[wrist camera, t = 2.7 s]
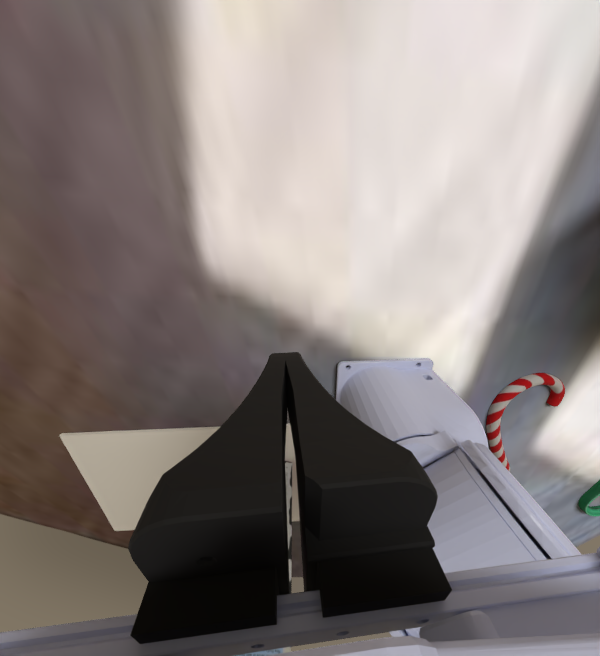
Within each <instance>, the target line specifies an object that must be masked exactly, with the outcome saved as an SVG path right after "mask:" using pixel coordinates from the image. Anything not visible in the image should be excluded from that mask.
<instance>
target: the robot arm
mask: <svg viewBox="0 0 600 656" xmlns="http://www.w3.org/2000/svg"><path fill="white" fill-rule="evenodd" d="M417 363H419V364H418V365H416V364H417ZM347 365H350V366H349V367H348V368H346V366H347ZM432 367H433V361H432V360H431V359H429V358H423V359H396V360H369V361H342V362H340V363H338V365H337V382H336V400H335V399H334V398H333V397H332V396H331V395H330V394H329V393H328V392H327V391H326V389H325V388H324V387H323V386H322V385H321V384H320V383H319V381H318V380H317V379H316V378H315V376H314V375H313V374H312V372H311V371H310V370H309V368H308V367H307V365H306V364H305V362H304V361H303V359H302V357H301V355H300V354H299V353H298V352H293V353H274V354H271V355H270V356H269V359H268V362H267V364H266V366H265V368H264V370H263V372H262V374H261V376H260V377H259V379H258V381H257V382H256V384H255V385H254V387H253V388H252V390H251V391H250V393H249V394H248V396H247V397H246V398H245V400H244V401H243V402H242V404H241V405H240V406H239V407H238V408H237V410H236V411H235V412H234V413H233V414H232V415H231V416H230V417H229V418H228V420H227V421H226V422H225V423H224V424H223V425H222V426H221V427H220V428H219V429H218V430H217V431H216V432H215V433H213V434H212V435H211V436H210V437H209V438H208V439H207V440H206V441H205V442H203V443H202V444H201V445H200V446H199V447H198V448H197V449H196V450H194V451H193V452H192V453H191V454H189V455H188V456H187V457H185V458H184V459H183V460H181V461H180V462H179V463H177V464H176V465H175V466H173V467H172V468H171V469H169V470H168V471H167V472H165V473H164V474H163V475H162V476H161V478H160V480H159V482H158V484H157V485H156V487H155V489H154V490H153V492H152V494H151V496H150V498H149V500H148V501H147V503H146V506H145V508H144V510H143V512H142V514H141V517H140V519H139V521H138V523H137V526H136V528H135V530H134V532H133V535H132V537H131V539H130V542H129V548H128V549H129V552H130V554H131V557H132V559H133V561H134V562H135V564H136V565H137V566H138V568H139V569H140V571H141V572H142V573H143V575H144V576H145V577H146V579H147V580H148V581H149V583H148V585H147V589H146V592H145V594H144V597H143V600H142V603H141V606H140V608H139V611H138V614H136V615H128V616H121V617H113V618H105V619H98V620H91V621H83V622H76V623H68V624H61V625H53V626H46V627H38V628H31V629H24V630H16V631H8V632H1V633H0V656H233V655H239V654H246V653H253V652H259V651H266V650H272V649H279V648H286V647H292V646H298V645H305V644H312V643H318V642H325V641H332V640H338V639H345V638H351V637H358V636H365V635H371V634H378V633H385V632H389V633H390V634H391V636H392V637H388V638H378V639H372V640H365V641H358V642H352V643H346V644H339V645H333V646H326V647H319V648H313V649H306V650H300V651H293V652H286V653H280V654H273V655H267V656H600V547H599V548H598V549H597V553H591V554H583V555H582V554H581V553H580V552H579V551H578V550H577V548H576V547H575V546H574V545H573V544H572V543H571V541H570V540H569V539H568V538H567V537H566V536H565V534H564V533H563V532H562V531H561V530H560V529H559V527H558V526H557V525H556V524H555V523H554V522H553V521H552V519H551V518H550V517H549V516H548V515H547V514H546V513H545V511H544V510H543V509H542V508H541V507H540V506H539V505H538V503H537V502H536V501H535V500H534V499H533V498H532V497H531V496H530V494H529V493H528V492H527V491H526V490H525V489H524V488H523V487H522V485H521V484H520V483H519V482H518V481H517V480H516V479H515V478H514V476H513V475H512V474H511V473H510V472H509V471H508V470H507V469H506V468H505V466H504V465H503V464H502V463H501V462H500V461H499V460H498V459H497V458H496V457H495V455H494V454H493V453H492V452H491V451H490V450H489V448H488V441H487V437H486V434H485V431H484V429H483V426H482V424H481V422H480V421H479V419H478V417H477V416H476V414H475V413H474V411H473V410H472V409H471V408H470V407H469V406H468V405H467V404H466V403H465V402H464V401H463V400H462V399H461V398H460V397H459V396H458V395H457V394H456V393H455V392H454V391H453V390H452V389H451V388H450V387H449V386H448V385H447V384H446V383H445V382H444V381H443V380H442V379H441V378H440V377H439V376H438V375H437V374H436V373H435V372H434V371H433V370H432ZM287 407H288V413H289V420H290V426H291V432H292V439H293V445H294V451H295V460H296V473H297V488H298V503H299V517H300V533H301V548H302V563H303V579H304V592H299V593H292V594H290V584H289V557H288V531H287V503H286V476H285V445H286V425H287Z"/></svg>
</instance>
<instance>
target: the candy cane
mask: <svg viewBox="0 0 600 656" xmlns="http://www.w3.org/2000/svg"><path fill="white" fill-rule="evenodd" d="M537 385H548V386H549V387H550V389H551V392H550V395H549V398H548V400H547V403H548V404H549V405H552V406H558V405H559V404H560V402H561V401H562V399H563V397H564V394H565V388H564V385H563V383H562V382H561V381H560V380H559V379H558V378H557V377H555V376H553V375H550V374H547V373H535V374H531V375H527V376H524V377H522V378H520V379H517V380H516V381H514V382H512V383H511V384H509V385H508V386H506V387H505V388H504V389H503V390H502V391H501V392H500V393H499V394H498V395H497V396H496V398H495V399H494V401H493V402H492V404H491V406H490V409H489V412H488V415H487V421H486V430H487V436H488V441H489V445H490V449H491V452H492V453H493V454H494V455H495V457H496V458H497V459H498V460H499V461H500V462H501V463H502V464H503V465H504V466H505V468H506V469H507V470H508V471H510V466H509V463H508V461H507V458H506V455H505V452H504V449H503V445H502V440H501V434H500V421H501V417H502V414H503V411H504V409H505V408H506V406H507V405H508V403H509V402H510V401H511V400H512V399H513V398H514V397H515V396H516V395H518V394H519V393H521V392H522V391H524V390H526V389H528V388H530V387H533V386H537Z"/></svg>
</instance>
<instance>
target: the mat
mask: <svg viewBox="0 0 600 656" xmlns="http://www.w3.org/2000/svg"><path fill="white" fill-rule="evenodd" d="M220 427H221V426H220ZM220 427H197V428H174V429H151V430H128V431H105V432H82V433H62V434H61V435H59V436H60V438H61V439H62V441H63V443H64V445H65V446H66V448H67V450H68V451H69V453H70V455H71V457H72V458H73V460H74V462H75V463H76V465H77V467H78V469H79V470H80V472H81V474H82V475H83V477H84V479H85V481H86V482H87V484H88V486H89V488H90V489H91V491H92V493H93V494H94V496H95V498H96V500H97V501H98V503H99V505H100V506H101V508H102V510H103V512H104V513H105V515H106V517H107V518H108V520H109V522H110V524H111V525H112V527H113V529H114V530H115V531H123V530H135V528H136V526H137V523H138V521H139V519H140V517H141V514H142V512H143V510H144V508H145V506H146V503H147V501H148V500H149V498H150V496H151V494H152V492H153V490H154V489H155V487H156V485H157V484H158V482H159V480H160V478H161V476H162V475H163V474H164V473H165V472H167V471H168V470H169V469H171V468H172V467H173V466H175V465H176V464H177V463H179V462H180V461H181V460H183V459H184V458H185V457H187V456H188V455H189V454H191V453H192V452H193V451H194V450H196V449H197V448H198V447H199V446H200V445H201V444H202V443H203V442H205V441H206V440H207V439H208V438H209V437H210V436H211V435H212V434H213V433H215V432H216V431H217V430H218V429H219V428H220ZM285 461H289V462H292V463H293V465H292V521H300V517H299V503H298V488H297V473H296V460H295V451H294V445H293V439H292V432H291V426H290V423H288V424H287V425H286V445H285Z"/></svg>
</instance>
